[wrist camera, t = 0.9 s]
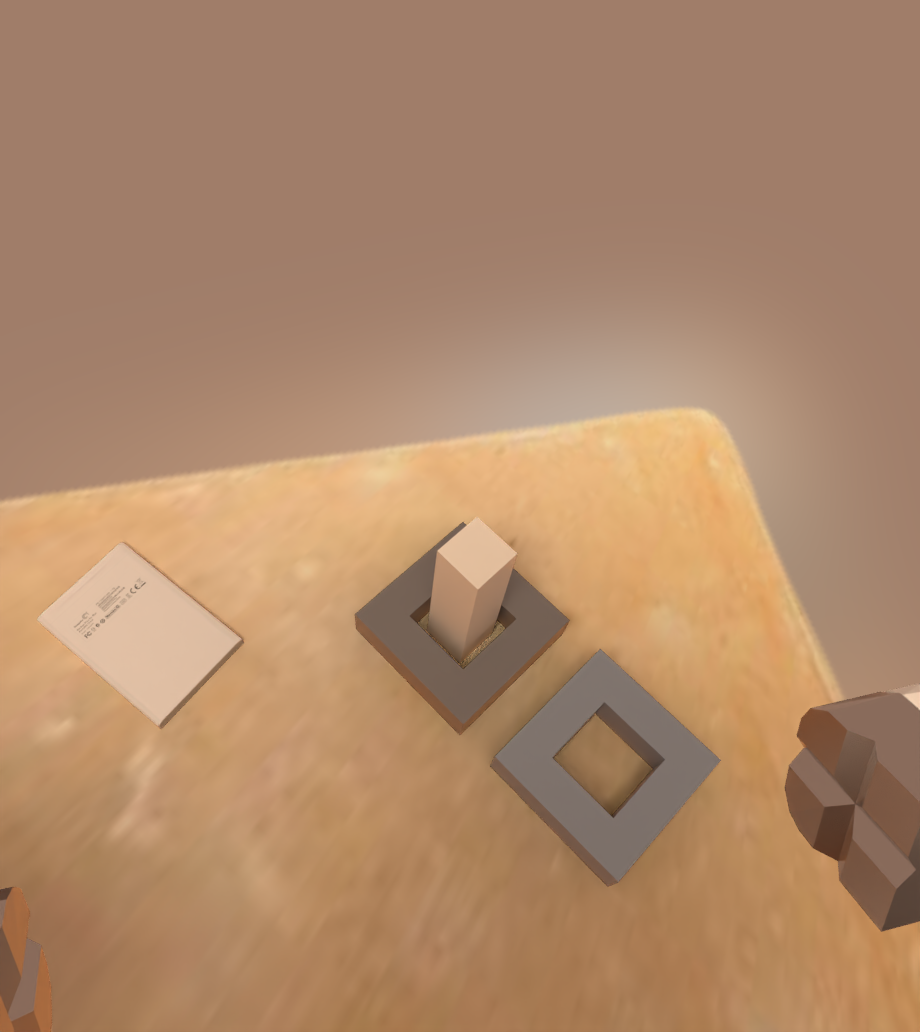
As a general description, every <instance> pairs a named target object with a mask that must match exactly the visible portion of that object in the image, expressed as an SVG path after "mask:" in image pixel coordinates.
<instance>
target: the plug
mask: <svg viewBox="0 0 920 1032" xmlns="http://www.w3.org/2000/svg"><path fill="white" fill-rule="evenodd" d="M516 557H517V553H516V552H515V551H514V550H513V549H512V548H511V547H510V546H509V545H508V544H507V543H505V542H504V541H503V540H502V539H501V538H500V537H499V536H498V535H497V534H496V533H495V532H493V531H492V530H491V529H490V528H489V527H488V526H487V525H486V524H485V523H484V522H483V521H481V520H480V519H479V518H478V517H476V518H475V519H474V520H472V521H471V522H470V523H469V524H468V525H467V526H465V527H464V528H463V529H462V530H461V531H460V532H458V533H457V534H456V535H455V536H454V537H453V538H451V539H450V540H449V541H448V542H447V543H446V544H445V545H443V546H442V547H441V548H440V549H439V550H438V551H437V556H436V564H435V572H434V580H433V588H432V596H431V604H430V612H429V620H428V628H427V631H428V632H429V633H430V634H431V635H432V636H433V637H434V638H435V639H436V640H437V641H438V642H439V643H440V644H441V645H442V646H443V647H444V648H445V649H446V650H447V651H448V652H449V653H450V654H451V655H452V656H453V657H454V658H455V659H456V660H457V661H458V662H459V663H461V662H462V661H463V660H464V659H465V658H466V657H467V656H468V655H469V654H471V653H472V652H473V651H474V650H475V649H476V648H477V647H478V646H479V645H480V644H481V643H482V642H483V641H484V640H485V639H487V638H488V637H489V636H490V635H491V634H492V633H493V630H494V627H495V624H496V620H497V617H498V614H499V611H500V608H501V604H502V601H503V598H504V595H505V592H506V589H507V585H508V582H509V579H510V576H511V573H512V569H513V566H514V563H515V560H516Z"/></svg>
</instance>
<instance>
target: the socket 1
mask: <svg viewBox="0 0 920 1032" xmlns="http://www.w3.org/2000/svg"><path fill="white" fill-rule="evenodd" d="M465 526H467V525H466V524H465V523H464V522H462V523H461V524H460V525H459V526H458V527H456V528H455V529H454V530H453V531H452V532H451V533H449V534H448V535H447V536H446V537H445V538H444V539H442V540H441V541H440V542H439V543H438V544H437V545H435V546H434V547H433V548H432V549H431V550H430V551H428V552H427V553H426V554H425V555H424V556H423V557H421V558H420V559H419V560H418V561H417V562H416V563H414V564H413V565H412V566H411V567H410V568H408V569H407V570H406V571H405V572H404V573H403V574H401V575H400V576H399V577H398V578H397V579H396V580H394V581H393V582H392V583H391V584H390V585H389V586H387V587H386V588H385V589H384V590H383V591H382V592H380V593H379V594H378V595H377V596H376V597H375V598H373V599H372V600H371V601H370V602H369V603H368V604H366V605H365V606H364V607H363V608H362V609H361V610H359V611H358V612H357V613H356V614H355V620H356V629H357V630H358V631H359V632H360V633H361V634H362V635H363V636H364V638H365V639H366V640H367V641H368V642H369V643H370V644H371V645H372V646H373V647H374V648H375V649H376V650H377V651H378V652H379V653H380V654H381V655H382V656H383V657H384V658H385V659H386V660H387V661H388V662H389V663H390V664H391V665H392V666H393V667H394V668H395V669H396V670H397V671H398V672H399V673H400V674H401V675H402V676H403V677H404V678H405V679H406V680H407V682H408V683H409V684H410V685H411V686H412V687H413V688H414V689H415V690H416V691H417V692H418V693H419V694H420V695H421V696H422V697H423V698H424V699H425V700H426V701H427V702H428V703H429V704H430V705H431V706H432V707H433V708H434V709H435V710H436V711H437V712H438V713H439V714H440V715H441V716H442V717H443V718H444V719H445V720H446V721H447V722H448V723H449V724H450V726H451V727H452V728H453V729H454V730H455V731H456V732H457V733H458V734H459V735H461V734H462V733H463V732H464V731H465V730H466V729H467V728H468V727H469V726H470V725H471V724H472V723H473V722H474V721H475V720H476V719H477V718H478V717H479V716H480V715H481V714H482V713H483V712H484V711H485V710H486V709H487V708H488V707H489V706H490V705H491V704H492V703H493V702H494V701H495V700H496V699H497V698H498V697H499V696H500V695H501V694H502V693H503V692H504V691H505V690H506V689H507V688H508V687H509V686H510V685H511V684H512V683H513V682H514V681H515V680H516V679H517V678H518V677H519V676H521V675H522V674H523V673H524V672H525V671H526V670H527V669H528V668H529V667H530V666H531V665H532V664H533V663H534V662H535V661H536V660H537V659H538V658H539V657H540V656H541V655H542V654H543V653H544V652H545V651H546V650H547V649H548V648H549V647H550V646H551V645H552V644H553V643H554V642H555V641H556V640H557V639H558V638H559V637H560V636H561V635H562V634H563V632H564V630H565V628H566V626H567V624H568V622H569V619H567V618H566V617H565V616H564V615H563V614H562V613H561V612H560V611H559V610H558V609H557V608H556V607H554V606H553V605H552V604H551V603H550V602H549V601H548V600H547V599H546V598H545V597H544V596H543V595H542V594H540V593H539V592H538V591H537V590H536V589H535V588H534V587H533V586H532V585H531V584H530V583H529V582H527V581H526V580H525V579H524V578H523V577H522V576H521V575H520V574H519V573H518V572H517V571H516V570H514V569H512V573H511V576H510V579H509V582H508V585H507V589H506V592H505V595H504V598H503V601H502V604H501V608H500V611H499V614H498V617H497V620H498V621H499V622H500V623H501V624H502V625H503V626H504V627H505V628H506V629H505V630H504V631H503V632H502V633H501V634H500V635H499V636H498V637H497V638H496V639H495V640H494V641H493V642H491V643H490V644H489V645H488V646H487V647H486V648H485V649H484V650H483V651H482V652H481V653H480V654H479V655H478V656H477V657H476V658H475V659H474V660H472V661H471V662H470V663H469V664H468V665H467V666H466V667H465V668H464V669H462V668H461V667H460V666H459V665H458V664H457V663H456V662H455V661H454V660H453V659H452V658H451V657H450V656H449V655H448V654H447V653H446V652H445V651H444V650H443V649H442V648H441V647H440V646H439V645H438V644H437V643H436V642H435V641H434V640H433V639H432V638H431V637H430V636H429V635H428V634H427V633H426V632H425V631H424V630H423V629H422V628H421V627H420V626H419V625H418V624H417V622H418V621H419V620H420V619H422V618H423V617H424V616H425V615H426V614H427V613H428V612H429V611H430V604H431V596H432V588H433V580H434V572H435V564H436V556H437V551H438V550H439V549H440V548H441V547H442V546H443V545H445V544H446V543H447V542H448V541H449V540H450V539H451V538H453V537H454V536H455V535H456V534H457V533H458V532H460V531H461V530H462V529H463V528H464V527H465Z"/></svg>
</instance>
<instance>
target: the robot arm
mask: <svg viewBox="0 0 920 1032" xmlns="http://www.w3.org/2000/svg"><path fill="white" fill-rule="evenodd" d="M797 737H798V738H799V740H800V742H801V743H802V745H803V746H804V749H803V750H802V751H801V752H800V753H799V754H798V756H797V757H796V758H795V759H794V760H793V761H792V763H791V764H790V765H789V768H788V774H787V779H786V784H785V792H786V797H787V801H788V806H789V811H790V813H791V815H792V817H793V819H794V821H795V823H796V825H797V827H798V829H799V831H800V832H801V833H802V835H803V836H804V837H805V838H806V840H807V841H808V842H809V843H810V845H811V846H812V847H813V848H814V849H816V850H818V851H820V852H822V853H824V854H825V855H827V856H829V857H831V858H833V859H835V860H837V861H838V867H839V881H840V882H841V883H842V884H843V886H844V887H845V888H846V889H847V890H848V892H849V893H850V894H851V895H852V897H853V898H854V899H855V900H856V901H857V903H858V904H859V905H860V906H861V908H862V909H863V910H864V911H865V912H866V914H867V915H868V916H869V917H870V919H871V920H872V921H873V922H874V923H875V925H876V926H877V927H878V928H879V929H880V931H881V932H882V931H885V930H889V929H893V928H896V927H900V926H904V925H908V924H911V923H915V922H919V921H920V683H918V684H914V685H910V686H905V687H901V688H896V689H892V690H888V691H886V692H877V693H873V694H869V695H865V696H860V697H856V698H852V699H848V700H843V701H839V702H835V703H831V704H827V705H822V706H818V707H814V708H810V710H809V711H808V712H807V713H806V714H805V715H804V716H803V717H802V718H801V721H800V725H799V729H798V732H797ZM29 917H30V911H29V908H28V906H27V903H26V901H25V898H24V896H23V893H22V891H21V888H17V887H10V888H5V889H0V1032H51V1030H52V1000H51V984H50V978H49V972H48V966H47V962H46V959H45V955H44V952H43V949H42V946H41V945H40V944H38V943H36V942H34V941H32V940H30V939H28V938H27V932H28V924H29Z"/></svg>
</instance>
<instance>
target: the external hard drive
mask: <svg viewBox="0 0 920 1032" xmlns="http://www.w3.org/2000/svg"><path fill="white" fill-rule="evenodd" d="M37 621H38V622H39V623H40V624H41V625H42V626H43V627H44V628H46V629H47V630H48V631H49V632H50V633H51V634H52V635H54V636H55V637H56V638H57V639H58V640H59V641H60V642H62V643H63V644H64V645H65V646H66V647H67V648H68V649H69V650H71V651H72V652H73V653H74V654H75V655H76V656H77V657H79V658H80V659H81V660H82V661H83V662H84V663H85V664H87V665H88V666H89V667H90V668H91V669H92V670H93V671H95V672H96V673H97V674H98V675H99V676H100V677H101V678H103V679H104V680H105V681H106V682H107V683H108V684H109V685H111V686H112V687H113V688H114V689H115V690H116V691H117V692H119V693H120V694H121V695H122V696H123V697H124V698H125V699H127V700H128V701H129V702H130V703H131V704H132V705H134V706H135V707H136V708H137V709H138V710H139V711H140V712H142V713H143V714H144V715H145V716H146V717H147V718H148V719H150V720H151V721H152V722H153V723H154V724H155V725H157V726H158V727H159V728H160V729H162V728H163V727H164V726H165V725H166V724H167V723H168V721H169V720H170V719H171V718H172V717H173V716H174V715H175V714H176V713H177V712H178V711H179V710H180V709H181V708H182V707H183V706H184V705H185V704H186V703H187V702H188V700H189V699H190V698H191V697H192V696H193V695H194V694H195V693H196V692H197V691H198V690H199V689H200V688H201V687H202V686H203V685H204V684H205V683H206V682H207V681H208V680H209V679H210V677H211V676H212V675H213V674H214V673H215V672H216V671H217V670H218V669H219V668H220V667H221V666H222V665H223V664H224V663H225V662H226V661H227V660H228V659H229V658H230V657H231V656H232V655H233V654H234V652H235V651H236V650H237V649H238V648H239V647H240V646H241V645H242V644H243V643H244V642H243V640H242V639H241V638H240V637H239V636H238V635H237V634H235V633H234V632H233V631H232V630H230V629H229V628H228V627H227V626H225V625H224V624H223V623H222V622H221V621H219V620H218V619H217V618H216V617H214V616H213V615H212V614H211V613H210V612H208V611H207V610H206V609H205V608H203V607H202V606H201V605H200V604H198V603H197V602H196V601H195V600H194V599H192V598H191V597H190V596H189V595H187V594H186V593H185V592H184V591H182V590H181V589H180V588H179V587H178V586H176V585H175V584H174V583H173V582H171V581H170V580H169V579H168V578H166V577H165V576H164V575H163V574H162V573H160V572H159V571H158V570H157V569H155V568H154V567H153V566H152V565H150V564H149V563H148V562H147V561H145V560H144V559H143V558H142V557H141V556H139V555H138V554H137V553H136V552H134V551H133V550H132V549H131V548H129V547H128V546H127V545H126V544H125V543H123V542H121V543H120V544H118V545H117V546H116V547H114V548H113V549H112V550H111V551H110V552H109V553H108V554H107V555H106V556H105V557H103V558H102V559H101V560H100V561H99V562H98V563H97V564H96V565H95V566H94V567H93V568H91V569H90V570H89V571H88V572H87V573H86V574H85V575H84V576H83V577H81V578H80V579H79V580H78V581H77V582H76V583H75V584H74V585H73V586H71V587H70V588H69V589H68V590H67V591H66V592H65V593H64V594H62V595H61V596H60V597H59V598H58V599H57V600H56V601H55V602H54V603H52V604H51V605H50V606H49V607H48V608H47V609H46V610H45V611H44V612H42V614H41V615H40V616H39V617H38V618H37Z"/></svg>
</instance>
